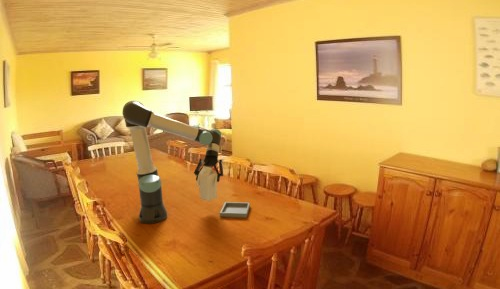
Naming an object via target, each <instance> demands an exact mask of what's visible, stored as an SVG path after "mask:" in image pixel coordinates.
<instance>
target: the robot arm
mask: <svg viewBox="0 0 500 289" xmlns="http://www.w3.org/2000/svg"><path fill="white" fill-rule="evenodd" d="M122 118H123V119H124V122H125V126H126V128H127V129H129V132H130V138H131V142H132V145H133V146H132V147H133V149H134V150H133V151H134V154H135V160H136V163H137V171H136V175H137V176H136V177H137V180H138V181H137V182H138V190H139V199H140V210H139V214H138V219H139V220H138V221H139V222H140V223H142V224H147V225H151V224H156V223H160V222H162V221H164V220H166V218H167V217H168V212H167V209H166V206H165V205H164V201H163V191H162V180H161V178H160V176H159V172H158V168H157V167H156V166H155V165H154V160H153V156H152V151H151V147H150V141H149V136H148V133H147V128H153V129H157V130H160V131H162V132H166V133H169V134H172V135H176V136H178V137H182V138H185V139H188V140H191V141H195V142H197V143H199V144H201V145H204V146H206V152H205V155H204V156H205V157H204V159H201V158H200V159H199V160H198V163H197V165H196V168H195V169H194V172H193V174H194V175H195V176H196V177H195V181H196V186H197V188H199V173H200V171H201V170H202V168H203V166H206V167H210V168H213V169H214V170H215V173H216V179H215V185H214V186H215V188H217V187H218V183H219V182H220V178H221V177H224V171H223V159H219V152H220V145H221V140H222V132H221V130H219V129H217V128H212V129H210V130H209V129H206V128H203V127H201V126H199V125H190V124H188V123H186V122H185V123H184V122H181V121H178V120H175V119H172V118H170V117H167V116H164V115H161V114H158V113H157V112H156V113H155V112H154V110H152V109H149V108H148V107H145V105H144V104H143V103H142V102H141V101H138V100H130V101H128V102H126V103H125V104H124V105H123V107H122ZM217 164H219V169H218V168H217V166H216V165H217ZM219 170H220V171H219Z"/></svg>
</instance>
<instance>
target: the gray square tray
mask: <svg viewBox="0 0 500 289" xmlns="http://www.w3.org/2000/svg"><path fill="white" fill-rule="evenodd" d="M250 206H251V204H250V202H241V201H239V202H238V201H233V202H232V201H224V203H223V206H222V208H221V210H220V212H219V217H220V218H235V219H237V218H238V219H240V218H241V219H247V218H248V214H249V211H250Z"/></svg>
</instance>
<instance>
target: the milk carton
mask: <svg viewBox="0 0 500 289" xmlns="http://www.w3.org/2000/svg"><path fill="white" fill-rule="evenodd" d="M202 166H203V165H202ZM201 168H202V167H201ZM216 175H217V173H216V171H214V170H213V167H206V166H203V168H202V170H201V171H200V173H199V187H198V188H199V199H201V200H203V201H206V202H209V201H212V200H214V199H217V198H218V189H217V188H215V186H214V185H215V179H216Z"/></svg>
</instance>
